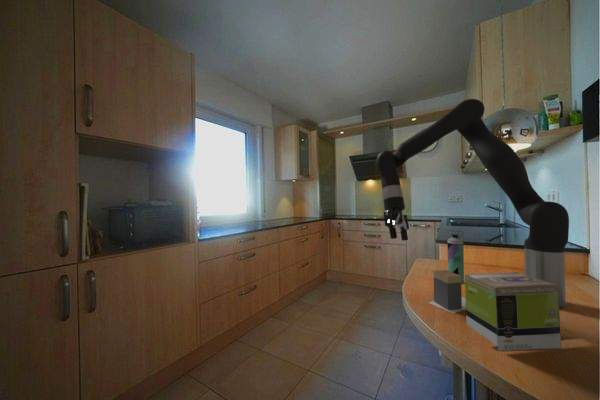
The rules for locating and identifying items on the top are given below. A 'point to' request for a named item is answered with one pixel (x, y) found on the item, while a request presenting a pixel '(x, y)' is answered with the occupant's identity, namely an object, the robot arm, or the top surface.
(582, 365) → the top surface
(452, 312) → the board
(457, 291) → the block
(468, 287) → the tea box
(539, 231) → the robot arm
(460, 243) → the spray can
